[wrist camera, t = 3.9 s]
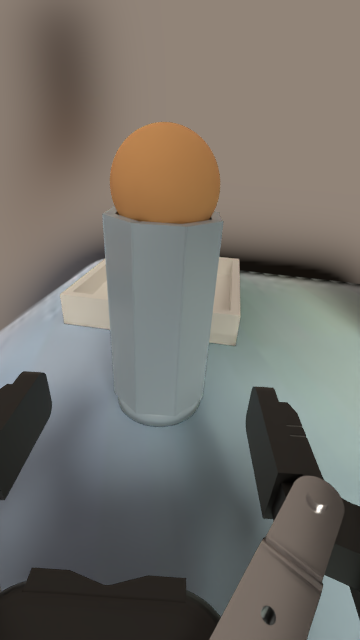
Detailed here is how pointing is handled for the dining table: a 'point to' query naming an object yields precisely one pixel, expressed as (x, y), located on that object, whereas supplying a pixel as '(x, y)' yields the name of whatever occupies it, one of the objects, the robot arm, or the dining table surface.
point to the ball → (165, 176)
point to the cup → (160, 313)
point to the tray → (93, 309)
